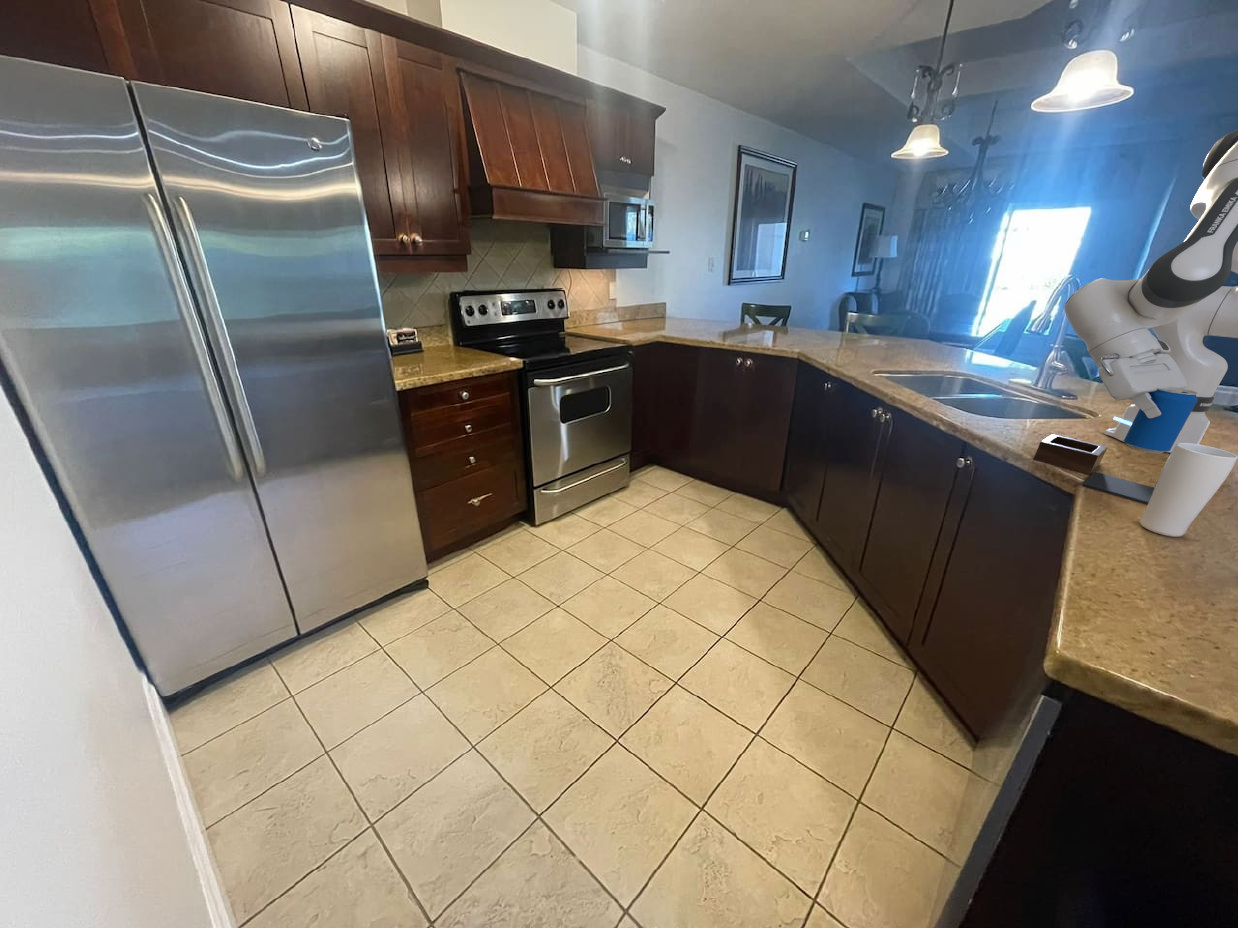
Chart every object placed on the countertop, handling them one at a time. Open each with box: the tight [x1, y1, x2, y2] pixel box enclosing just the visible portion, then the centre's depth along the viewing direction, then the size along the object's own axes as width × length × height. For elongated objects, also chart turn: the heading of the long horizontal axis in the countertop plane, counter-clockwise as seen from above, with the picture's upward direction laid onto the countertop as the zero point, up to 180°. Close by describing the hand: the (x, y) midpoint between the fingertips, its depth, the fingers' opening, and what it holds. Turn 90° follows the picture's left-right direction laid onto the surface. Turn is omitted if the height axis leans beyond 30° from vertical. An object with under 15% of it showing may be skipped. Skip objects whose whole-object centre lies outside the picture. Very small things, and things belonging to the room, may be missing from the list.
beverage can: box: [1123, 387, 1198, 455], centre depth 91 cm, size 6×6×12 cm
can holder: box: [1032, 433, 1108, 475], centre depth 109 cm, size 10×10×4 cm
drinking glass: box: [1139, 443, 1238, 538], centre depth 79 cm, size 7×7×15 cm
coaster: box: [1081, 471, 1155, 505], centre depth 97 cm, size 11×11×1 cm
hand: (1167, 415), depth 90 cm, fingers closed on beverage can, 6 cm apart
